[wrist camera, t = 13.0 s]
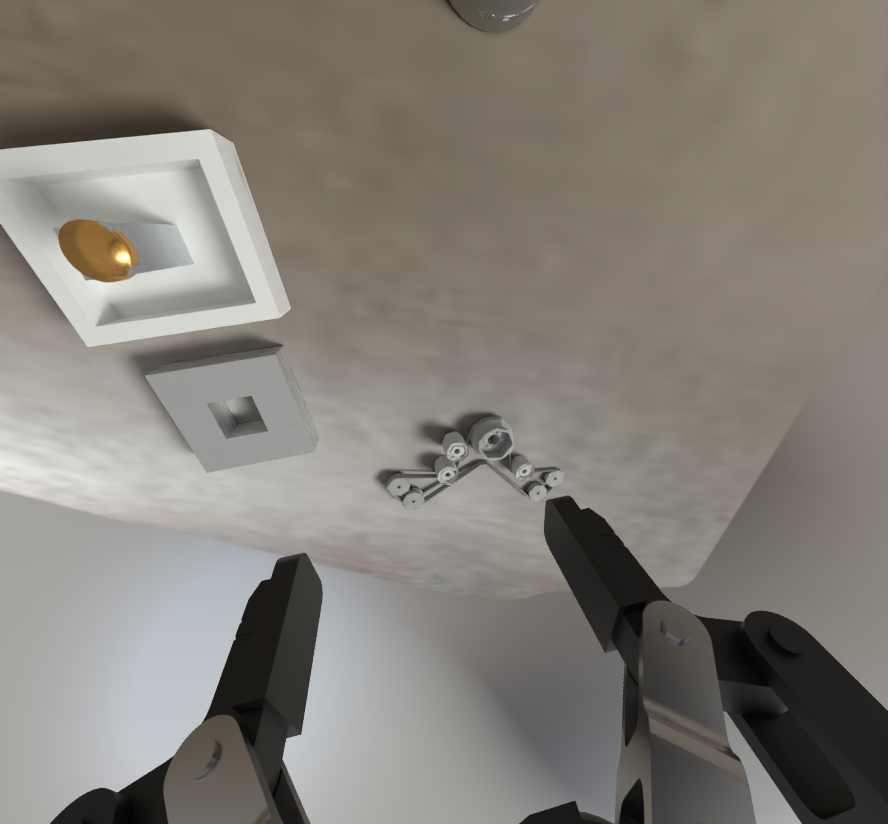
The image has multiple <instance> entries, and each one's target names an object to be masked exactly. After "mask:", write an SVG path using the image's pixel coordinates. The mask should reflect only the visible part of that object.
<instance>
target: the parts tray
mask: <svg viewBox="0 0 888 824" xmlns="http://www.w3.org/2000/svg"><path fill="white" fill-rule="evenodd" d="M77 219H83V220H98V221H102V222H115V223H141V224H167V225H177V227H178V230H179V232H180V234H181V236H182V238H183V240H184V242H185V245H186V247H187V249H188V251H189V253H190V255H191V257H192V260H193V262H194V264H192V265H186V266H180V267H174V268H168V269H162V270H156V271H150V272H145V273H139V274H136V275H134V276H133V277H132V278H130V279H127V280H123V281H117V282H100V281H97V280H87V281H86V280H85V279H84V277H83V276H82V274H81V272H79V271H78V270H77V269H75V268H74V267H73V266H72V265H71V264H70V263H69V262H68V260H67V259H66V258H65V256H64V255H63V253H62V251H61V248H60V245H59V241H58V237H57V235H56V233H55V232H54V230H53V229H52V228H60V227H62V226H63V225H64V224H65V223H67V222H68V221H71V220H77ZM0 224H1V225H2V227H3V228H4V229H5V231H6V232H7V234H8V235H9V236H10V238H11V239H12V241H13V242H14V243H15V245H16V246H17V248H18V249H19V251H20V252H21V253H22V255H23V256H24V258H25V259H26V260H27V262H28V263H29V265H30V266H31V267H32V269H33V270H34V272H35V273H36V275H37V276H38V277H39V279H40V280H41V282H42V283H43V284H44V286H45V287H46V289H47V290H48V291H49V293H50V294H51V296H52V297H53V299H54V300H55V301H56V303H57V304H58V306H59V307H60V308H61V310H62V311H63V313H64V314H65V315H66V317H67V318H68V320H69V321H70V323H71V324H72V325H73V327H74V328H75V330H76V331H77V332H78V334H79V335H80V337H81V338H82V339H83V341H84V342H85V344H86V345H87V347H92V346H98V345H105V344H111V343H118V342H124V341H131V340H137V339H144V338H151V337H157V336H164V335H170V334H177V333H183V332H190V331H197V330H203V329H210V328H216V327H223V326H229V325H236V324H242V323H249V322H256V321H262V320H269V319H275V318H281V317H282V316H283V315H284V314H285V313H287V312H288V311H289V310H290V309H291V307H290V304H289V301H288V298H287V296H286V293H285V290H284V287H283V284H282V281H281V278H280V275H279V273H278V270H277V267H276V264H275V261H274V258H273V255H272V253H271V250H270V247H269V244H268V241H267V238H266V235H265V233H264V230H263V227H262V224H261V221H260V218H259V215H258V212H257V210H256V207H255V204H254V201H253V198H252V195H251V192H250V190H249V187H248V184H247V181H246V178H245V175H244V172H243V169H242V167H241V164H240V161H239V158H238V155H237V152H236V149H235V147H234V144H233V143H232V142H231V141H229V140H227V139H226V138H224V137H222V136H221V135H219V134H218V133H216V132H214V131H213V130H211V129H207V130H197V131H186V132H176V133H166V134H155V135H145V136H135V137H124V138H114V139H104V140H93V141H83V142H73V143H62V144H52V145H41V146H31V147H21V148H10V149H0Z"/></svg>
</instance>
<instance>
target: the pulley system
mask: <svg viewBox="0 0 888 824" xmlns="http://www.w3.org/2000/svg"><path fill="white" fill-rule="evenodd" d="M498 417H499V418H498ZM492 434H493V435H492ZM491 435H492V437H491V438H489V437H490V436H491ZM469 439H470V441H471V443H472V448H473V449H474V450H475V452H476V453H478V454H480V455H482V457H483V458H485V459H488V460H491V461H495V460H500V459H503V458H504V457H505V456H507V455H508V459H509V469H510V471H511V472H512V473H514V475H515V477H516V478H518V479H520V480H523V481H524V480H528V479H531V477H532V475H533V474H534V473H539V472H546V474H545V476H544V479H545V482H546V483H547V484H548V485H549V487H547V488H545V487H544V485H542V484H540V483H538V482H535V483H532V484H531V485H530V486H529V487H528V488H526V492H525V491H524V490H522V489H521V488H520V487H519V486H517V485H516V484H515V483H514V482H513V481H511V480H510V479H509V478H508V477H506V476H505V475H504V474H503V473H501V472H500V471H499V470H498V469H496V468H495V467H494V466H493V465H491V464H490V463H489V462H488V461H486V460H480V461H478V462H477V463H475V464H474V465H472V466H471V467H469V468H468V469H466V470H465V471H463V472H462V473H460V474H459V472H458V469H457V467H458V464H459V462H460V461H463V460H464V459H465V458H466V457H467V456H468V452H469V448H468V446H467V444H468V441H469ZM514 443H515V442H514V439H513V435H512V429H511V426H510V425H509V424H508V423H507V422H506V421H505V420H504V419H503V418H502V417H500V416H492V417H484V418H481V419H480V420H479V421H477V422H476V423H475V424H473V426H472V428H471V430H470V432H469V434H468V436H467V438H466V440H465V441H464V439H463V437H462V435H461V434H459V433H458V432H456V431H455V432H451V433H448V434H445V437H444V439H443V442H442V446H443V448H444V451H445V453H446V456H440V457H439V458H438V459H437V460H436V461H435V464H434V469H435V472H436V474H392V475H391V477H389V479H388V481H387V489H388V491H389V492H390V493H391V494H392V495H393V496H394V497H395V498H396V499H397V500H398V501H400V502H401V503H402V504H403V505H404V506H405V508H406V509H417V508H420V507H421V506H422V505H423V504H424V503H426V502H427V501H429V500H430V499H432V498H433V497H435V496H436V495H438V494H439V493H440V492H442V491H443V490H445V489H446V488H448V487H449V486H451V485H452V484H454V483H455V482H456V481H458V480H459V479H461V478H462V477H464V476H465V475H467V474H468V473H470V472H471V471H472V470H474V469H475V468H477V467H478V466H480V465H482V464H488V465H489V466H491V467H492V468H493V469H494V470H495V471H497V472H498V473H499V474H500V475H502V476H503V477H504V478H505V479H506V480H508V481H509V482H510V483H511V484H512V485H514V486H515V487H516V488H517V489H519V490H520V491H521V492H522V493H523V494H525V495H526V496H527V497H528V498H529V499H530V500H534V501H539V500H541V499H542V498H544V497H545V495H546V494H547V493H549V492H550V491H551V490H552V489H553V488H554V487H556V486H557V485H558V484H560V483H562V481H563V477H564V473H563V472H562V471H561V470H560V469H559V468H547V469H535V468H534V466H533V464H532V463H531V462H530V461H529V460H528V458H527V457H525V456H523V455H519V456H515V457H514V458H513V459H512V460H511V452H512V449H513V446H514ZM420 478H437V479H438V480H439V481H440V482H441V483H442V484H444V485H442V486H441V487H439V488H438V489H436V490H435V491H433V492H432V493H430V494H429V495H427V496H426V497H425V498H423V492H422V491H421V490H420V489H417V488H414V487H413V488H411V489H409V488H410V484H409V479H420ZM402 494H403V499H402V498H401V497H400V496H401V495H402Z"/></svg>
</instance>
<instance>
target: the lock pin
mask: <svg viewBox="0 0 888 824" xmlns="http://www.w3.org/2000/svg"><path fill="white" fill-rule="evenodd" d="M52 229H53V230H54V232H55V233H56V235H57V237H58V241H59V245H60V248H61V251H62V253H63V255H64V256H65V258H66V259H67V260H68V262H69V263H70V264H71V265H72V266H73V267H74V268H75V269H77V270H78V271H79V272H81V274H82V276H83V277H84V279H85V280H86V281H87V280H97V281H100V282H117V281H123V280H127V279H130V278H132V277H133V276H134V275H136V274H139V273H145V272H150V271H156V270H162V269H168V268H174V267H180V266H186V265H192V264H194V262H193V260H192V257H191V255H190V253H189V251H188V249H187V247H186V245H185V242H184V240H183V238H182V236H181V234H180V232H179V230H178V227H177V225H167V224H141V223H115V222H102V221H98V220H83V219H77V220H71V221H68V222H67V223H65V224H64V225H63V226H62V227H60V228H52Z"/></svg>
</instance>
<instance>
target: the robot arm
mask: <svg viewBox="0 0 888 824" xmlns="http://www.w3.org/2000/svg"><path fill="white" fill-rule="evenodd" d="M538 1H539V0H449V2H450V3H451V5H452V7H453V8H454V9H455V10H456V11H457V13H458V14H459V15H460V16H461V18H462V19H464V20H465V21H466V22H468V23H469V24H470V25H471V26H473V27H475V28H477V29H480V30H482V31H485V32H495V33H497V32H501V31H506V30H509V29H511V28H513V27H514V26H516V25H518V24H519V23H521V22H522V21H523V20H524V19H525V18H526V17H527V16H528V15H529V14H530V13H531V11H532V10H533V8H534V7H535V6H536V4H537V3H538ZM544 535H545V539H546V542H547V545H548V547H549V549H550V551H551V553H552V555H553V556H554V558H555V560H556V562H557V564H558V566H559V568H560V569H561V571H562V573H563V575H564V577H565V579H566V581H567V583H568V584H569V586H570V588H571V590H572V592H573V594H574V596H575V597H576V599H577V601H578V603H579V605H580V607H581V609H582V610H583V612H584V614H585V616H586V618H587V620H588V622H589V623H590V625H591V627H592V629H593V631H594V633H595V635H596V637H597V639H598V640H599V642H600V644H601V646H602V648H603V650H604V652H605V653H607V652H611V651H615V650H618V651H619V653H620V655H621V657H622V659H623V661H624V673H623V704H622V705H623V706H622V733H621V734H622V736H621V751H620V758H619V763H618V770H617V781H616V800H615V801H616V802H615V824H756V821H755V816H754V810H753V804H752V799H751V794H750V789H749V784H748V780H747V776H746V773H745V770H744V767H743V765H742V762H741V761H740V759H739V757H738V756H737V755H736V754H734V753H733V752H732V750H731V748H730V745H729V742H728V739H727V733H726V727H725V720H724V714H723V711H725V712H727V713H728V715H729V716H730V718H731V719H732V720H733V722H734V723H735V725H736V726H737V728H738V729H739V731H740V732H741V734H742V735H743V737H744V738H745V740H746V741H747V743H748V744H749V746H750V747H751V749H752V750H753V752H754V753H755V755H756V756H757V758H758V759H759V761H760V762H761V763H762V765H763V767H764V768H765V770H766V771H767V772H768V774H769V775H770V777H771V778H772V780H773V781H774V783H775V784H776V786H777V787H778V789H779V790H780V792H781V793H782V794H783V796H784V798H785V799H786V801H787V802H788V804H789V805H790V807H791V808H792V809H793V811H794V813H795V814H796V815H797V817H798V819H799V820H800V822H801V823H802V824H888V711H887V710H886V709H885V708H884V707H883V706H882V705H881V704H880V703H879V702H878V701H877V700H876V699H875V698H874V697H873V696H872V695H871V694H870V693H869V692H868V691H867V690H866V689H865V688H864V687H863V686H862V685H861V684H860V683H859V682H858V681H857V680H856V679H855V678H854V677H853V676H852V675H851V674H850V673H849V672H848V671H847V670H846V669H845V668H844V667H843V666H842V665H841V664H840V663H839V662H838V661H837V660H836V659H835V658H834V657H833V656H832V655H831V654H830V653H829V652H828V651H827V650H826V649H825V648H824V647H823V646H822V645H821V644H820V643H819V642H818V641H817V640H816V639H815V638H814V637H813V636H812V635H811V634H809V633H808V632H807V631H806V630H805V629H803V628H802V627H801V626H799V625H798V624H796V623H795V622H793V621H791V620H789V619H788V618H785V617H783V616H781V615H779V614H775V613H772V612H767V611H755V612H751V613H750V614H748V616H747V617H746V618H745V620H744V621H743V622H740V621H730V620H722V619H713V618H705V617H700V616H697V615H694V614H692V613H691V612H690V611H688V610H687V609H685V608H684V607H682V606H680V605H678V604H675V603H672V602H671V601H670V600H669V599H668V598H667V597H666V596H665V595H664V594H663V593H662V592H661V591H660V589H659V588H658V587H657V585H656V584H655V583H654V582H653V580H652V579H651V578H650V577H649V575H648V574H647V573H646V571H645V570H644V569H643V568H642V566H641V565H640V564H639V562H638V561H637V560H636V559H635V557H634V556H633V555H632V554H631V552H630V551H629V550H628V548H627V547H625V546H624V543H623V542H622V541H621V540H620V538H619V537H618V536H617V535H615V532H614V531H613V529H612V528H611V527H610V525H609V524H608V523H607V522H606V520H605V519H604V518H603V517H601V516H600V515H598V514H597V513H595V512H594V511H593V510H591V509H590V508H586V509H582V510H581V509H580V508H579V507H578V505H577V504H576V502H575V501H574V500H573V498H572V497H570V496H563V497H558V498H554V499H549V500H547V501H546V506H545V520H544ZM322 595H323V593H322V584H321V580H320V578H319V577H318V575H317V573H316V571H315V569H314V567H313V565H312V563H311V561H310V559H309V557H308V556H307V554H306V553H301V554H296V555H292V556H287V557H283V558H280V559H278V560H277V562H276V564H275V567H274V570H273V574H272V577H271V579H269V580H264V581H262V582H261V583H260V584H259V586H258V587H257V588H256V590H255V591H254V593H253V594H252V596H251V597H250V598H249V600H248V603H247V605H246V608H245V611H244V614H243V617H242V622H241V623H240V625H239V628H238V630H237V633H236V640H234V641H233V644H232V647H231V650H230V653H229V656H228V658H227V661H226V664H225V667H224V669H223V672H222V675H221V678H220V681H219V684H218V686H217V689H216V692H215V695H214V697H213V700H212V703H211V706H210V708H209V711H208V713H207V715H206V717H205V719H204V721H203V722H202V724H201V725H199V726H198V727H197V728H196V729H195V730H194V731H193V732H192V733H191V734H190V735H189V736H188V737H187V738H186V739H185V741H184V742H183V743H182V745H181V746H180V748H179V749H178V751H177V752H176V754H175V755H174V756H173V757H172V758H170V759H169V760H167V761H166V762H165V763H163V764H162V765H160V766H159V767H157V768H155V769H154V770H152V771H151V772H149V773H148V774H146V775H144V776H143V777H141V778H140V779H138V780H136V781H135V782H133V783H132V784H130V785H128V786H127V787H125V788H124V789H122V790H121V791H119V792H114V791H112V790H109V789H106V788H98V789H94V790H92V791H90V792H87V793H86V794H84V795H82V796H81V797H79V798H77V799H76V800H75V801H74V802H72V803H71V804H70V805H68V806H67V807H66V808H65V809H64V810H63V811H62V812H61V813H60V814H59V815H58V816H57V817H56V818H55V819H54V820H53V821H52V822H51V823H50V824H310V822H309V819H308V817H307V815H306V813H305V810H304V808H303V806H302V803H301V801H300V799H299V796H298V794H297V791H296V789H295V787H294V785H293V782H292V780H291V777H290V775H289V773H288V771H287V768H286V766H285V764H284V762H283V760H282V758H283V752H284V747H285V742H286V738H289V737H293V736H297V735H301V731H302V726H303V720H304V713H305V706H306V700H307V694H308V687H309V681H310V675H311V669H312V662H313V656H314V649H315V642H316V637H317V630H318V624H319V618H320V611H321V605H322ZM520 824H613V823H611V822H609V821H607V820H605V819H603V818H601V817H599V816H595V815H592V814H589V813H586V812H579V810H578V807H577V805H576V801H572V802H569V803H566V804H563V805H560V806H557V807H554V808H550V809H547V810H544V811H541V812H538V813H535V814H532V815H529V816H528V817H527V818H525V819H524V820H523V821H522V822H521V823H520Z"/></svg>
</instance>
